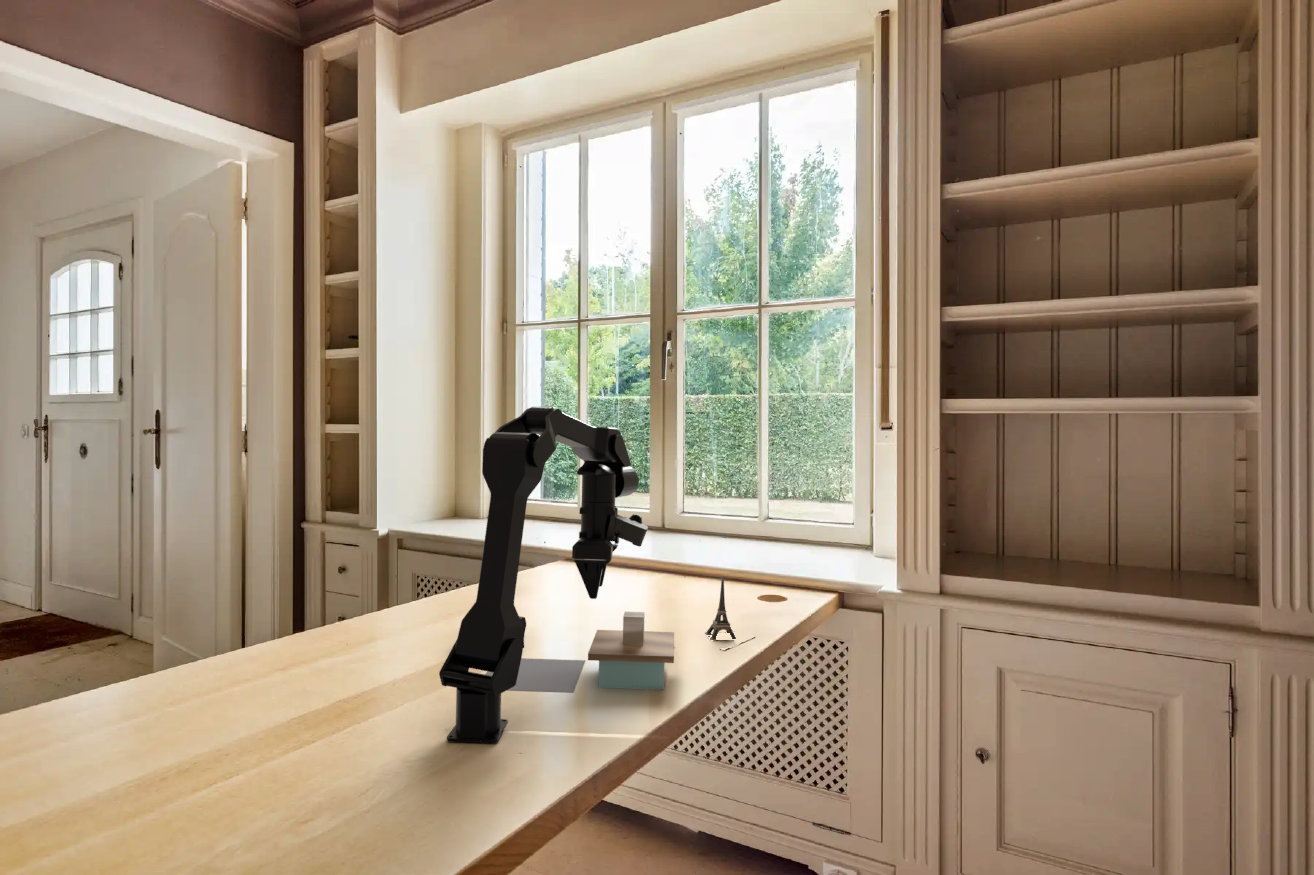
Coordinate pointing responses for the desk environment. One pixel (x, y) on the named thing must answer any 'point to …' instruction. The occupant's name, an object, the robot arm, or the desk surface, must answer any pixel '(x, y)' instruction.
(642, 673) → the dish
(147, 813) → the desk surface
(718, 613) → the eiffel tower figurine
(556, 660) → the mat
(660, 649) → the lid
